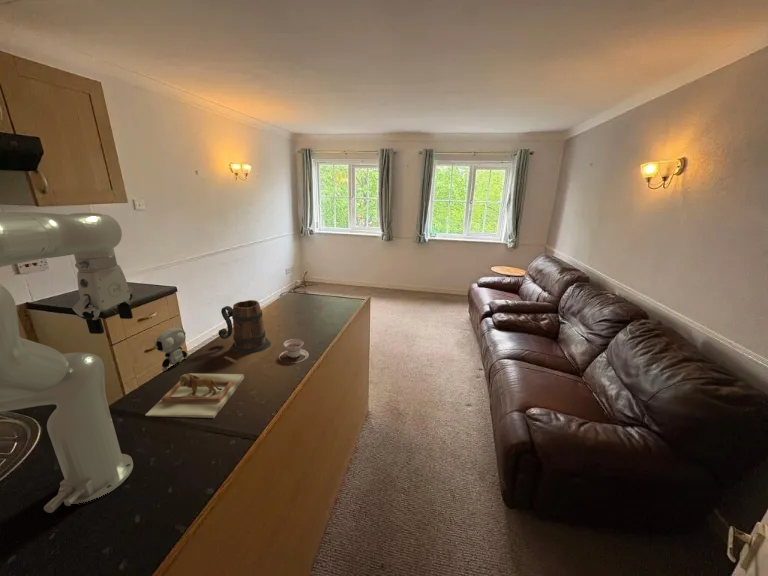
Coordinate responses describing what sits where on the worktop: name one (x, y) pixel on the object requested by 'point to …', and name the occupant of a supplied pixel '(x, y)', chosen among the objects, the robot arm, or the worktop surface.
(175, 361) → the robot toy
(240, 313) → the tankard
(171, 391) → the base plate
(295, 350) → the teacup
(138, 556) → the worktop surface
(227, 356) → the worktop surface
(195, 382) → the lion figurine
